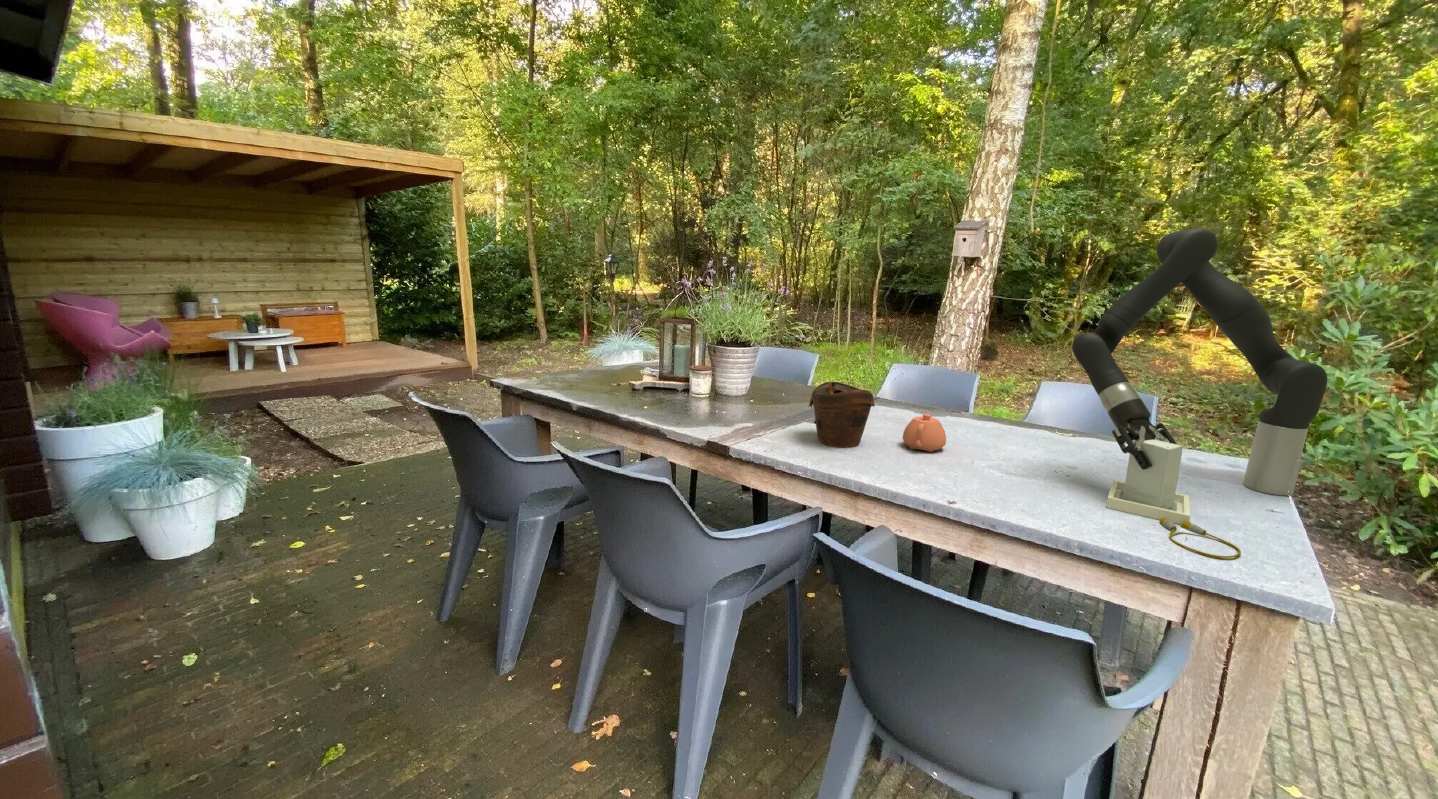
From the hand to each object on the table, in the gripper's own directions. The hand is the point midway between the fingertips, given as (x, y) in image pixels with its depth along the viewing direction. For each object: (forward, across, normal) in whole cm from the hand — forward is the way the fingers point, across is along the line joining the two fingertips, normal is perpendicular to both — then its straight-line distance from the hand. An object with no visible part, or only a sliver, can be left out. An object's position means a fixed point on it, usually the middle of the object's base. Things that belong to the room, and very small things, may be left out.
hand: (1161, 466), depth 135 cm
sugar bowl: (-29, -25, +43) cm, 58 cm away
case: (-37, -47, +52) cm, 79 cm away
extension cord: (+18, -7, -3) cm, 20 cm away
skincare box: (+6, 0, +8) cm, 10 cm away
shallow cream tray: (+6, 0, +8) cm, 10 cm away
